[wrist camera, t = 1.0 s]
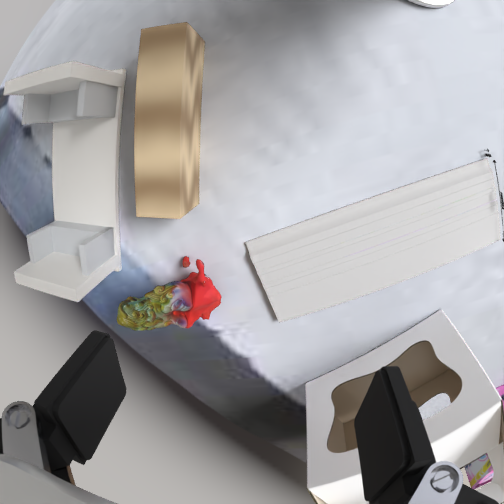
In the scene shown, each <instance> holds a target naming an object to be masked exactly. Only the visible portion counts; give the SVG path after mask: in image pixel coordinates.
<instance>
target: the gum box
mask: <svg viewBox="0 0 504 504" xmlns="http://www.w3.org/2000/svg"><path fill="white" fill-rule="evenodd" d="M496 390H497V392H498V393H499V395H500V397H501V398H502V402H503V408H504V385H502V386H500V387H498V388H496ZM465 470H466V473H467V476H468V479H469V482H470V485H471V488H472V489H476V488H478V487H480V486H482V485H484V484H486V483H488V482H491V481H492V479H493V475H494V471H493V468H492V466H491V463H490V461H489V458H488V456H487V454H486V455H484V456H482V457H481V458H479V459H477V460H476V461H474V462H472V463H470V464H469V465H467V466H465Z"/></svg>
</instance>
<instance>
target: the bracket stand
mask: <svg viewBox="0 0 504 504" xmlns="http://www.w3.org/2000/svg"><path fill="white" fill-rule="evenodd" d="M126 72H127V70H126V69H116V70H105V69H102V68H98V67H94V66H91V65H87V64H83V63H79V62H75V61H71V62H67V63H63V64H59V65H55V66H52V67H48V68H45V69H41V70H38V71H35V72H32V73H29V74H26V75H23V76H20V77H17V78H14V79H12V80H9V81H6V82H5V89H4V95H24V102H23V114H22V125H24V124H38V123H53V138H52V185H53V205H54V218H55V221H54V222H52V223H50V224H48V225H46V226H44V227H42V228H40V229H38V230H36V231H34V232H32V233H30V234H28V235H26V236H27V243H28V249H29V255H30V261H29V262H28V263H26V264H25V265H23V266H22V267H20V268H19V269H17V270H15V271H14V276H15V281H16V283H17V284H20V285H23V286H26V287H29V288H32V289H35V290H38V291H42V292H45V293H48V294H51V295H55V296H58V297H62V298H65V299H68V300H72V301H76V302H79V301H80V300H81V299H82V298H83V297H84V296H85V295H87V294H88V293H89V292H90V291H91V290H92V289H93V288H94V287H95V286H96V285H98V284H99V283H100V282H101V281H102V280H103V279H104V278H105V277H107V276H108V275H109V274H110V273H111V272H112V271H118V272H119V271H120V270H121V269H122V265H121V251H120V232H119V150H120V131H121V118H122V106H123V96H124V87H125V79H126Z"/></svg>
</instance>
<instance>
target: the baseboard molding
mask: <svg viewBox="0 0 504 504" xmlns="http://www.w3.org/2000/svg"><path fill="white" fill-rule="evenodd" d="M486 151H488V152H489V150H488V149H487V150H486ZM485 155H486V156H488V155H489V157H491V154H488V155H487V154H485ZM493 162H494V163H496V162H495V160H494V161H493ZM495 169H496V166H495ZM496 175H497V172H496ZM497 181H498V178H497ZM498 187H499V184H498ZM500 193H501V194H500ZM499 195H501V196H502V192H500V191H499ZM501 199H502V200H501ZM501 199H500V203H502V202H503V196H502V197H501ZM497 204H498V203H497V198H496V188H495V184H494V175H493V171H492V170H491V168H490V166H489V162H488V158H485V159H482V160H479V161H476V162H473V163H470V164H467V165H464V166H461V167H458V168H455V169H452V170H449V171H446V172H443V173H440V174H437V175H434V176H431V177H428V178H426V179H423V180H420V181H417V182H414V183H411V184H408V185H405V186H402V187H399V188H396V189H393V190H391V191H388V192H385V193H382V194H379V195H376V196H373V197H370V198H368V199H365V200H362V201H359V202H356V203H353V204H350V205H348V206H345V207H342V208H339V209H336V210H333V211H330V212H328V213H325V214H322V215H319V216H316V217H314V218H311V219H308V220H305V221H302V222H299V223H297V224H294V225H291V226H288V227H285V228H283V229H280V230H277V231H274V232H272V233H269V234H266V235H263V236H260V237H258V238H255V239H252V240H249V241H247V242H245V243H246V245H247V248H248V250H249V254H250V258H251V260H252V262H253V264H254V266H255V269H256V271H257V274H258V276H259V278H260V280H261V282H262V285H263V287H264V289H265V291H266V294H267V296H268V299H269V301H270V303H271V305H272V308H273V310H274V312H275V314H276V317H277V319H278V321H279V323H280V322H284V321H287V320H291V319H294V318H297V317H301V316H304V315H307V314H310V313H314V312H317V311H320V310H323V309H326V308H329V307H332V306H335V305H338V304H341V303H344V302H347V301H350V300H353V299H356V298H359V297H362V296H365V295H368V294H370V293H373V292H376V291H379V290H381V289H384V288H387V287H390V286H392V285H395V284H398V283H400V282H403V281H406V280H408V279H411V278H413V277H416V276H418V275H421V274H423V273H426V272H428V271H431V270H433V269H436V268H438V267H441V266H443V265H445V264H448V263H450V262H452V261H455V260H457V259H459V258H462V257H464V256H466V255H469V254H471V253H473V252H475V251H477V250H480V249H482V248H484V247H486V246H488V245H490V244H493V243H495V242H497V241H499V240H501V238H500V223H499V213H498V206H497ZM502 204H503V205H502V206H503V207H504V202H503V203H502ZM503 207H502V208H501V213H502V209H503V210H504V208H503ZM502 224H503V219H502ZM503 242H504V233H503Z"/></svg>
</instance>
